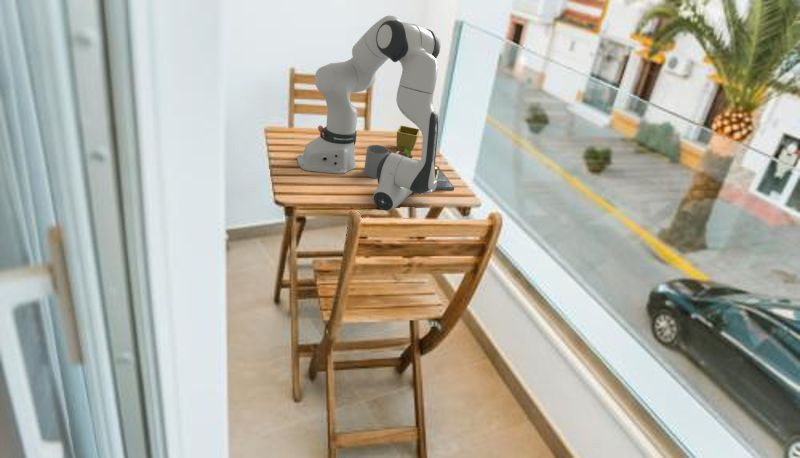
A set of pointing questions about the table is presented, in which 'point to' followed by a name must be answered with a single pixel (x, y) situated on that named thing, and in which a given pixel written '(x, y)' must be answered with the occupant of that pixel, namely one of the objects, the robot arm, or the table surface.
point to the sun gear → (436, 169)
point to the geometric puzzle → (405, 153)
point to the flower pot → (407, 138)
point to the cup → (374, 159)
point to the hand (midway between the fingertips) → (416, 171)
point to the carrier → (443, 182)
